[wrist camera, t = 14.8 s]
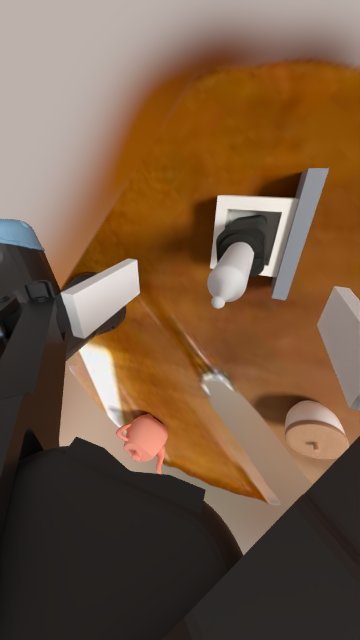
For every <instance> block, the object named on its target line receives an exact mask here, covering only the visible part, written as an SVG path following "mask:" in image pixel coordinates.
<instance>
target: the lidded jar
mask: <svg viewBox="0 0 360 640" xmlns="http://www.w3.org/2000/svg"><path fill="white" fill-rule="evenodd" d="M285 439H286V441H287V443H288V444H289V446H290V447H291V448H292V449H294V450H295V451H297V452H299V453H301V454H303V455H305V456H308V457H312V458H317V459H333V458H338V457H340V456H341V455H342V454H343V453H344V452H345V451H346V450H347V449H348V448H349V442H348V439H347V437H346V435H345V432H344V429H343V427H342V425H341V423H340V421H339V420H338V418H337V417H336V416H335V414H334V413H333V412H332V411H330V410H329V409H328V408H326V407H325V406H323V405H321V404H320V403H318V402H315V401H309V400H306V401H301V402H298V403H297V404H296V405H294V406H293V407H292V408H291V409H290V410H289V412H288V414H287V416H286V421H285Z"/></svg>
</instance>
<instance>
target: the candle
mask: <svg viewBox="0 0 360 640" xmlns="http://www.w3.org/2000/svg"><path fill="white" fill-rule="evenodd" d="M266 234H267V219H266V217H265V216H263V215H254V216H246V217H239V218H237V219H236V220H234V221H233V222H232V223H231V224H230V225H229V226H228V227H227V228H226V229H225V230H224V231H222V232H221V233H220V234H219V235H218V237H217V239H216V252H217V265H216V266H215V268H214V269H213V270H212V272H211V273H210V275H209V277H208V284H207V285H208V290H209V292H210V294H211V295H212V296H213V298H212V301H211V303H212V305H213V307H215V308H222V307H223V306H224V304H225V302H232V301H235V300H237V299H238V298H240V297H241V296H242V294H243V293H244V291H245V289H246V286H247V282H248V278H249V277H254V276H257V275H259V274H261V273H262V271H263V270H264V266H265V255H266V242H267V241H266Z"/></svg>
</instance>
